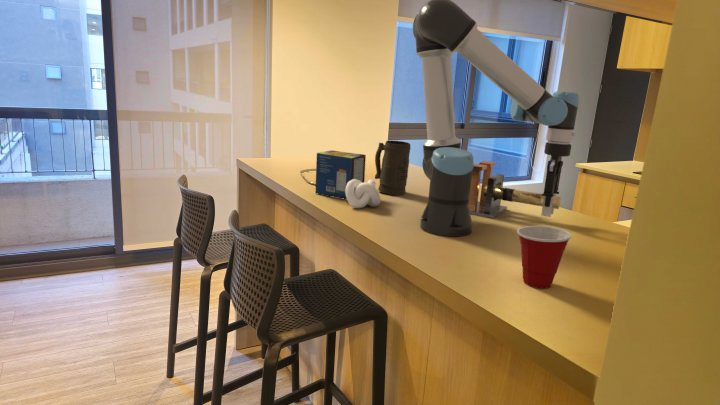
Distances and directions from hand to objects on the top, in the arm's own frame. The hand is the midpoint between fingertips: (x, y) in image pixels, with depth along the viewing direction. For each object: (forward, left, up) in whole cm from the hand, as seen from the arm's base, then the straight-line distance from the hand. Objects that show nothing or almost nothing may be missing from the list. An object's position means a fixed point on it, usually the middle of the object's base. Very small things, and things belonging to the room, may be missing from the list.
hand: (547, 214), depth 149 cm
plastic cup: (-55, -8, -3) cm, 56 cm away
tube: (0, +9, +2) cm, 9 cm away
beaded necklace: (+5, +93, -3) cm, 93 cm away
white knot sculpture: (-25, +56, -3) cm, 61 cm away
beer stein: (+2, +60, -3) cm, 60 cm away
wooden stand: (0, +23, -3) cm, 23 cm away
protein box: (-16, +71, -3) cm, 73 cm away
